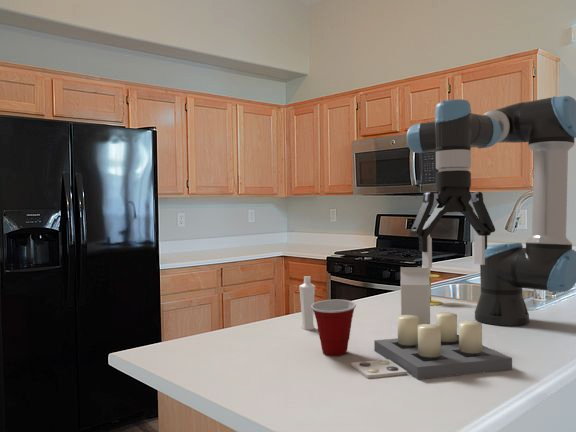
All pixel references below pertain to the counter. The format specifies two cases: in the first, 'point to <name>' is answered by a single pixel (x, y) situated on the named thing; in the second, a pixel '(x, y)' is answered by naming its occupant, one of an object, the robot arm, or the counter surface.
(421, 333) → the cream domed cylinder
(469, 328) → the cream rounded cylinder
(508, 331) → the counter surface
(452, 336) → the cream rounded cylinder
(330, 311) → the plastic cup
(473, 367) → the board
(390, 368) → the card
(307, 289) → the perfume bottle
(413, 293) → the milk carton
